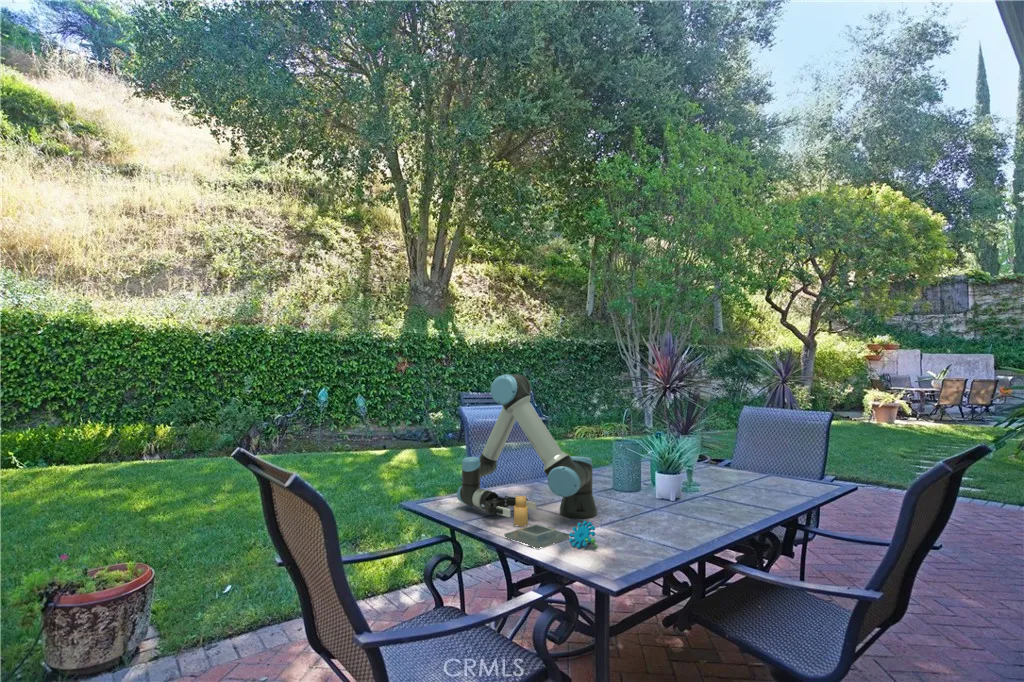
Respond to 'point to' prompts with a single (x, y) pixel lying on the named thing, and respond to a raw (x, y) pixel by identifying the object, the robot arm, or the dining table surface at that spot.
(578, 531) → the gear
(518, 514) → the stacked tan cylinders
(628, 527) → the dining table surface
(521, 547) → the dining table surface
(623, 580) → the dining table surface
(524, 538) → the junction box
